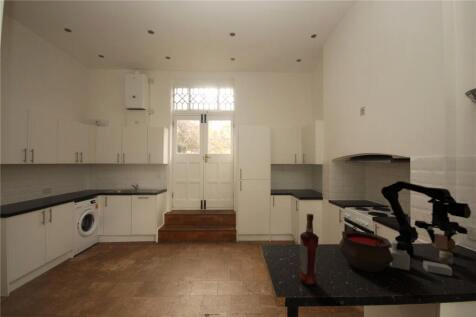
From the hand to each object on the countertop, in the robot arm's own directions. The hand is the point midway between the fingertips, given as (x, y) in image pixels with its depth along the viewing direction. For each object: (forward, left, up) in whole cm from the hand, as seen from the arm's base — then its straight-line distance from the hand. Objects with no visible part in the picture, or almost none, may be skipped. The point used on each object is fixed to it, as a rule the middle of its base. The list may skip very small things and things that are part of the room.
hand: (439, 243), depth 106 cm
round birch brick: (+6, +8, -11) cm, 15 cm away
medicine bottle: (-19, -10, -12) cm, 24 cm away
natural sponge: (+12, +26, -12) cm, 31 cm away
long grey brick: (-3, -7, -12) cm, 14 cm away
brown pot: (-35, -18, -12) cm, 41 cm away
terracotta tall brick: (0, 0, -2) cm, 2 cm away
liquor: (-59, -47, -12) cm, 76 cm away
